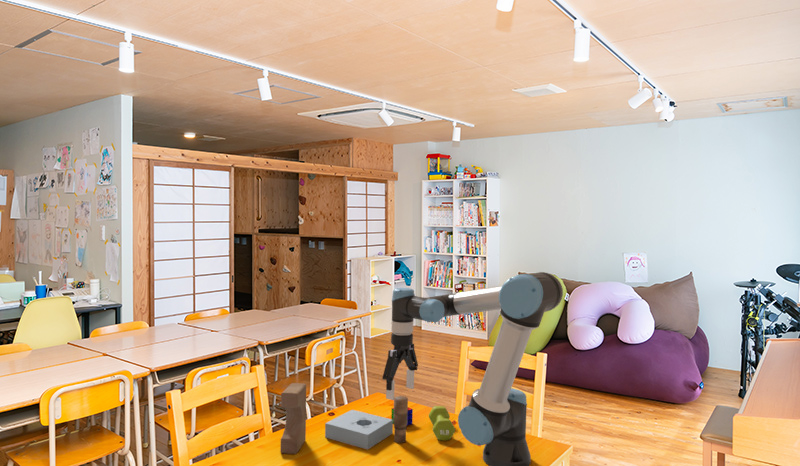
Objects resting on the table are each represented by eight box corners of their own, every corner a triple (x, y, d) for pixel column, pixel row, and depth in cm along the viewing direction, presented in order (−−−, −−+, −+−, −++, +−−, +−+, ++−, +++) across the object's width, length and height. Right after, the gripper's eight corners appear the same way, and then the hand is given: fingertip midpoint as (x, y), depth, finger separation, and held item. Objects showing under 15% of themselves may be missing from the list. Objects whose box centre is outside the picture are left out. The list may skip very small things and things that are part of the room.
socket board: (392, 433, 194) (392, 419, 193) (367, 449, 180) (367, 434, 180) (351, 422, 203) (352, 409, 203) (325, 437, 189) (325, 423, 189)
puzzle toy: (391, 423, 203) (391, 408, 203) (402, 419, 207) (402, 404, 207) (401, 427, 199) (401, 412, 199) (412, 423, 203) (412, 409, 203)
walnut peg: (409, 440, 188) (410, 397, 188) (402, 444, 184) (403, 401, 184) (397, 436, 191) (398, 395, 190) (390, 441, 186) (391, 398, 186)
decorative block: (296, 454, 175) (297, 393, 174) (279, 453, 176) (280, 392, 175) (306, 440, 186) (307, 383, 185) (290, 439, 187) (291, 382, 186)
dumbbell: (455, 441, 188) (455, 421, 188) (432, 441, 188) (433, 421, 187) (449, 423, 204) (449, 404, 204) (428, 423, 204) (428, 404, 204)
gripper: (410, 325, 199) (408, 382, 200) (373, 338, 177) (371, 401, 178) (428, 328, 195) (426, 385, 196) (392, 341, 174) (390, 406, 174)
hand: (400, 393), depth 187 cm, fingers open, 13 cm apart
